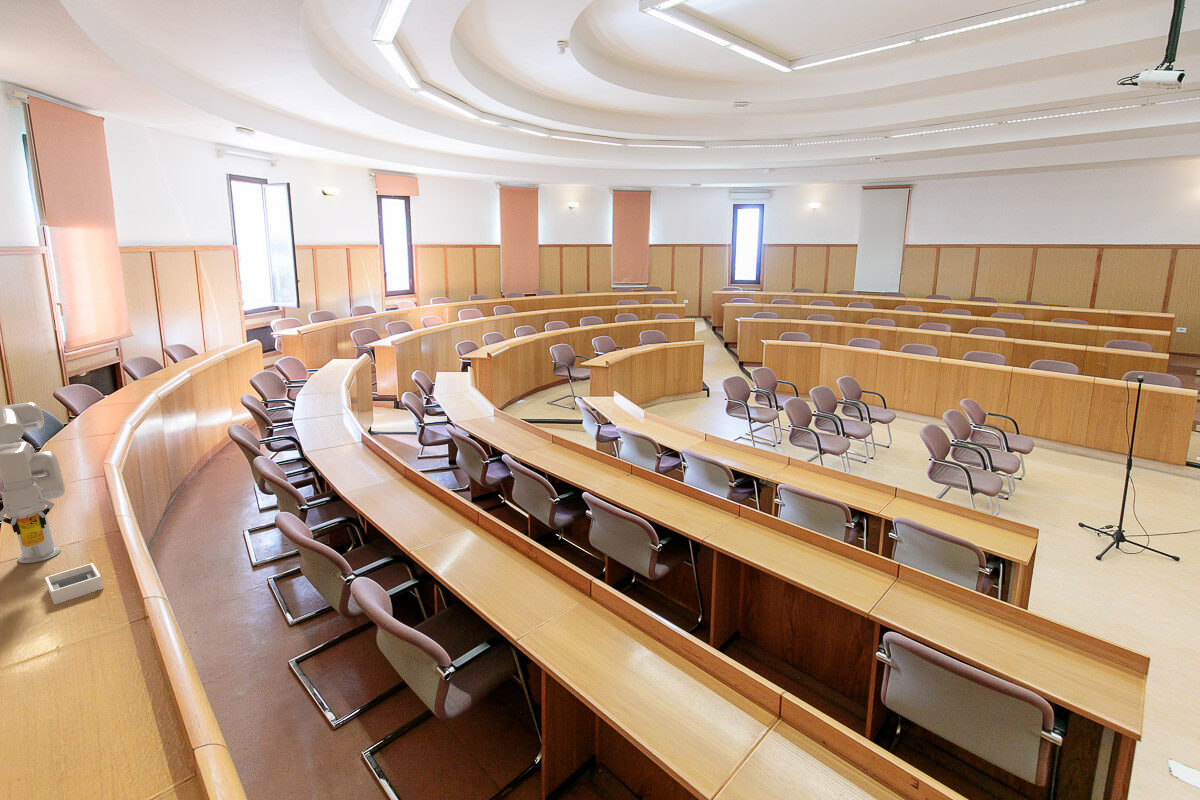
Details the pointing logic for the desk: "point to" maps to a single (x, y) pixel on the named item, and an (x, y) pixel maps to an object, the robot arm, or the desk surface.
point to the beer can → (30, 527)
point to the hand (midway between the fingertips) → (30, 529)
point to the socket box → (74, 583)
